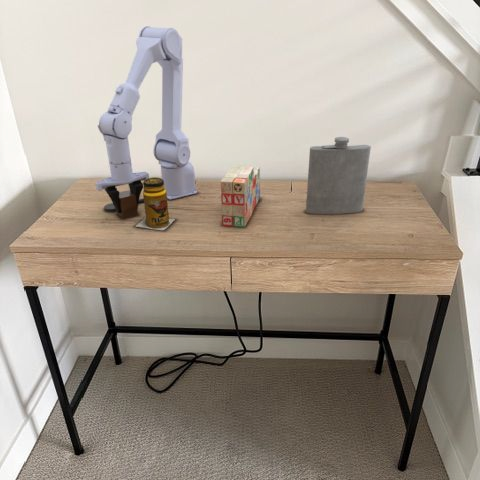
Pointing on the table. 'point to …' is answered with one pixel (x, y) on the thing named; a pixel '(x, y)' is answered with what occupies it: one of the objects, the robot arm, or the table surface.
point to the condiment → (155, 205)
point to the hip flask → (337, 178)
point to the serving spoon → (111, 207)
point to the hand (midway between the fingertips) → (127, 210)
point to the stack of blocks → (239, 195)
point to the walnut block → (127, 204)
